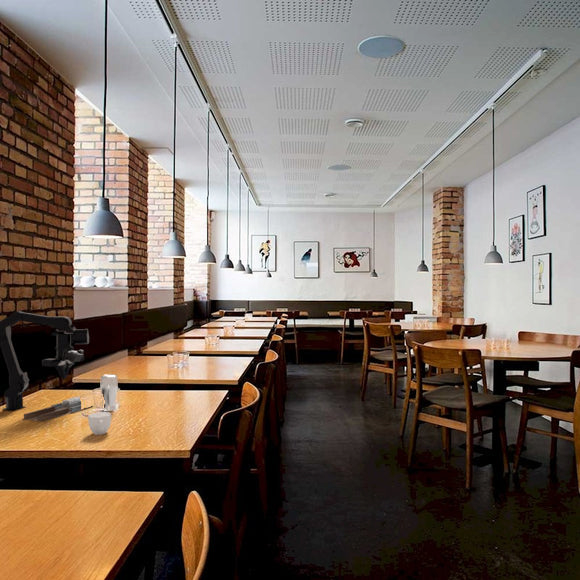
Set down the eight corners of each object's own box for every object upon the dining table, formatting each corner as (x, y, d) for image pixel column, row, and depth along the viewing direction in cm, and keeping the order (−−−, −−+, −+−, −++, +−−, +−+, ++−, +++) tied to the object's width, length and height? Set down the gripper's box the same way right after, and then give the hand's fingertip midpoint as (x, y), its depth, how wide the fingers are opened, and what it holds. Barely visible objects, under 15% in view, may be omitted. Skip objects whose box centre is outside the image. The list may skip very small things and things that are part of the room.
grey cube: (62, 409, 204) (62, 400, 204) (69, 407, 208) (69, 398, 208) (69, 410, 203) (69, 401, 203) (76, 408, 206) (76, 399, 206)
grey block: (69, 407, 208) (69, 398, 208) (77, 405, 212) (77, 396, 211) (76, 408, 206) (76, 399, 206) (83, 406, 210) (83, 397, 210)
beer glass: (120, 408, 208) (120, 374, 208) (113, 412, 201) (113, 377, 201) (105, 408, 209) (105, 374, 209) (97, 412, 202) (97, 377, 202)
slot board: (20, 419, 190) (20, 413, 190) (72, 405, 214) (72, 399, 214) (42, 423, 186) (42, 416, 186) (93, 407, 210) (93, 401, 210)
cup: (110, 428, 179) (110, 410, 178) (112, 436, 170) (112, 417, 169) (87, 431, 175) (87, 413, 175) (89, 439, 166) (89, 420, 166)
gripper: (60, 348, 201) (60, 384, 201) (93, 343, 218) (93, 377, 218) (40, 346, 205) (41, 382, 205) (75, 342, 222) (75, 375, 222)
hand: (64, 379), depth 212 cm, fingers closed
